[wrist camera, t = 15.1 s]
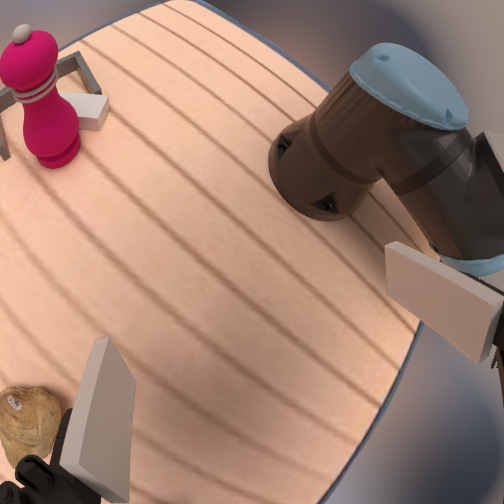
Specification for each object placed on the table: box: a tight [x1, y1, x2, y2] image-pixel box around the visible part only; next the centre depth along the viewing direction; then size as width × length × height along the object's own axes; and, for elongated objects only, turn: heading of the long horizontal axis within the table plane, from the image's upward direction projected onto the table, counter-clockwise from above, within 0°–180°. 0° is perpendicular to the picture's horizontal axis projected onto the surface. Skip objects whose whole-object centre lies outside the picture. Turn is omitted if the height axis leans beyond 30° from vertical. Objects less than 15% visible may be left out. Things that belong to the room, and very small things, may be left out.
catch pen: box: [0, 51, 102, 160], centre depth 29 cm, size 16×11×3 cm
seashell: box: [0, 387, 62, 470], centre depth 18 cm, size 14×8×8 cm, turn 159°
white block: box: [58, 92, 110, 131], centre depth 31 cm, size 8×4×3 cm, turn 84°
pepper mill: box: [0, 24, 80, 168], centre depth 21 cm, size 7×7×20 cm
